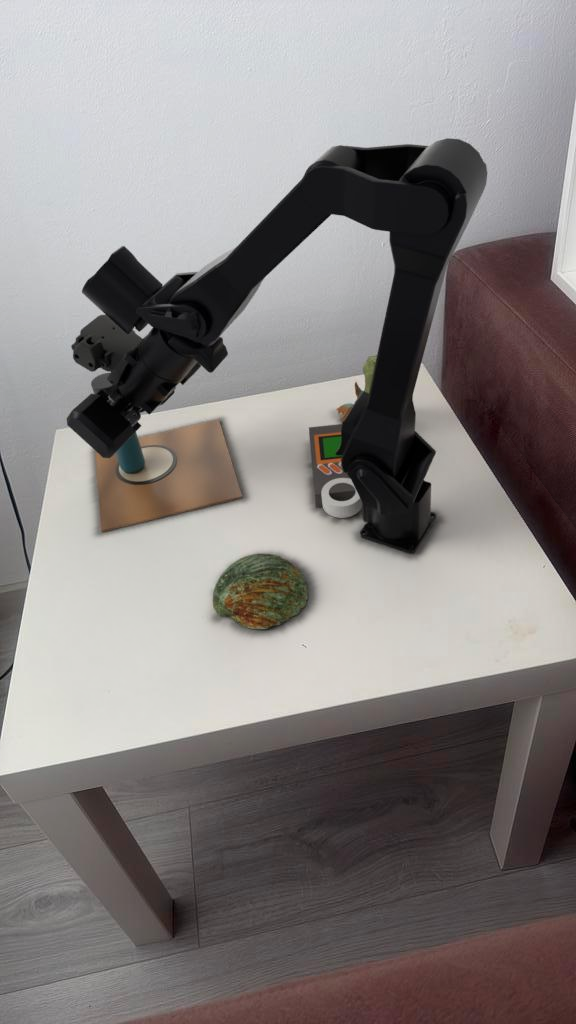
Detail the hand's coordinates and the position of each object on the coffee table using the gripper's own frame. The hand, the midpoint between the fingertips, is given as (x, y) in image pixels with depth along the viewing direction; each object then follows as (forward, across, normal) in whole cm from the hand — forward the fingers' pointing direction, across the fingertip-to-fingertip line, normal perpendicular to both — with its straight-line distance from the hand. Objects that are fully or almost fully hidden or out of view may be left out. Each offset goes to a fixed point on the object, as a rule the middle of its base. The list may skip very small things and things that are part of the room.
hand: (111, 423), depth 90 cm
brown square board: (+1, -1, +9) cm, 9 cm away
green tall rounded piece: (-15, -19, +25) cm, 35 cm away
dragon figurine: (-14, -20, +22) cm, 33 cm away
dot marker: (+4, 0, +6) cm, 7 cm away
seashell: (-14, +13, +24) cm, 30 cm away
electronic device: (-14, -7, +24) cm, 29 cm away
